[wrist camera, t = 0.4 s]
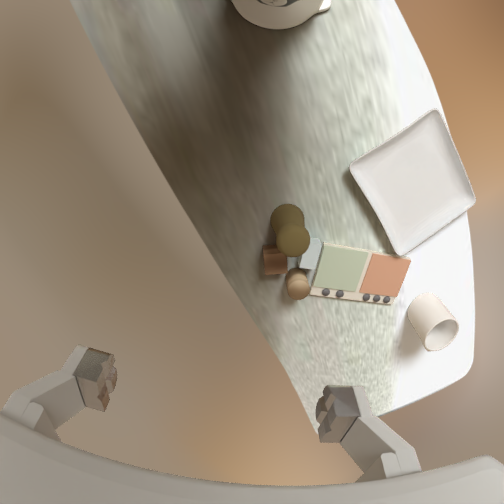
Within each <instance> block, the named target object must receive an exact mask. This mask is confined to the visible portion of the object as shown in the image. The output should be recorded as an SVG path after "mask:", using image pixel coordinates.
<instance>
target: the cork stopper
mask: <svg viewBox="0 0 504 504" xmlns="http://www.w3.org/2000/svg"><path fill="white" fill-rule="evenodd" d="M286 284H287V290H288V294H289V296H290V297H291V298H293V299H295V300H301V299H304V298H305V297H307V296H308V294H309V292H310V287H309V284H308V280H307V276H306V273H305V271H304V270H302V269H301V268H292V269H290V270H289V271H288V273H287V274H286Z"/></svg>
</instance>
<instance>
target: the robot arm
mask: <svg viewBox="0 0 504 504" xmlns="http://www.w3.org/2000/svg"><path fill="white" fill-rule="evenodd" d="M231 1H232V3H233V4H234V6H235V8H236V9H237V11H238V12H239V13H240V14H241V15H242V16H243V17H244V18H245V19H246V20H248V21H249V22H251V23H253V24H255V25H258V26H260V27H264V28H269V29H286V28H291V27H295V26H297V25H300V24H302V23H303V22H305V21H306V20H308V19H309V18H310V17H311V16H312V15H314V14H316V13H319V12H323V11H326V10H328V9H329V8H330V6H331V0H231ZM114 362H115V358H114V355H113V354H109V353H106V352H103V351H99V350H96V349H93V348H89V347H86V346H82V345H78V346H76V347H75V349H74V350H73V352H72V353H71V355H70V356H69V358H68V360H67V361H66V363H65V365H64V366H63V368H62V369H61V371H55V372H53V373H51V374H49V375H47V376H45V377H43V378H41V379H39V380H37V381H35V382H32V383H30V384H28V385H26V386H24V387H22V388H20V389H18V390H16V391H14V392H13V393H12V395H11V397H10V398H9V400H8V401H7V403H6V404H5V406H4V407H3V409H2V411H1V412H0V504H504V465H503V464H502V463H500V462H499V461H497V460H496V459H495V458H493V457H491V456H489V455H482V456H478V457H475V458H472V459H469V460H465V461H462V462H459V463H455V464H452V465H448V466H444V467H441V468H437V469H433V470H428V471H424V472H422V470H421V467H420V464H419V461H418V458H417V455H416V452H415V449H414V448H413V447H412V446H410V445H409V444H408V443H407V442H406V441H405V440H404V439H402V438H401V437H400V436H399V435H398V434H397V433H395V432H394V431H393V430H392V429H391V428H390V427H388V426H387V425H386V424H385V423H384V422H383V421H382V420H380V419H379V418H378V417H377V416H373V413H372V410H371V407H370V404H369V401H368V398H367V395H366V392H365V389H364V387H363V386H340V385H327V386H326V387H325V388H324V390H323V395H324V396H322V397H321V398H319V400H318V402H317V406H316V420H317V421H318V422H319V423H320V424H321V425H320V426H319V428H318V433H319V439H320V442H329V443H333V442H336V443H340V444H341V446H342V447H343V448H344V449H345V450H346V452H347V453H348V454H349V455H350V456H351V458H352V459H353V460H354V461H355V463H356V464H357V465H358V466H359V467H360V469H361V470H362V471H363V472H364V474H363V475H362V476H361V477H360V478H359V479H358V480H357V481H356V482H355V483H346V484H333V485H316V486H315V485H314V486H271V485H269V486H268V485H251V484H237V483H228V482H218V481H210V480H203V479H196V478H189V477H184V476H178V475H173V474H168V473H163V472H158V471H153V470H149V469H145V468H141V467H137V466H133V465H129V464H125V463H122V462H118V461H115V460H111V459H108V458H104V457H102V456H98V455H95V454H93V453H89V452H87V451H84V450H80V449H78V448H75V447H73V446H70V445H67V444H65V443H62V442H61V440H60V438H59V436H58V434H57V433H56V431H55V429H57V428H58V427H59V426H61V425H62V424H63V423H65V422H66V421H68V420H69V419H70V418H72V417H73V416H75V415H76V414H77V413H79V412H80V411H81V410H83V409H84V408H85V407H89V408H92V409H96V410H100V411H103V412H105V410H106V407H107V405H108V403H109V400H110V399H109V393H111V392H113V391H114V388H115V386H116V381H117V371H116V368H115V367H114V366H113V364H114Z"/></svg>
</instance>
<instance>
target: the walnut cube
mask: <svg viewBox="0 0 504 504" xmlns="http://www.w3.org/2000/svg"><path fill="white" fill-rule="evenodd" d="M263 257H264V268H265V275H272V274H284V273H288V270H287V256H285V255H284V254H282V253H281V252H280V251H279V249H278V248H277V245H276V244H275V245H264V246H263Z"/></svg>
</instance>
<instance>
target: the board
mask: <svg viewBox="0 0 504 504" xmlns="http://www.w3.org/2000/svg"><path fill="white" fill-rule="evenodd" d="M410 262H411V260H410V258H409V257H405V256H398V255H394V254H388V253H383V252H377V251H371V250H366V249H360V248H354V247H349V246H343V245H337V244H331V243H325V242H323V246H322V250H321V253H320V257H319V261H318V264H317V268H316V271H315V275H314V278H313V282H312V285H311V289H310V292H309V293H310V295H317V296H325V297H333V298H341V299H349V300H358V301H366V302H375V303H384V304H393V302H394V300H395V297H397V295H398V293H399V290H400V288H401V285H402V283H403V280H404V278H405V275H406V273H407V270H408V268H409V265H410Z"/></svg>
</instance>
